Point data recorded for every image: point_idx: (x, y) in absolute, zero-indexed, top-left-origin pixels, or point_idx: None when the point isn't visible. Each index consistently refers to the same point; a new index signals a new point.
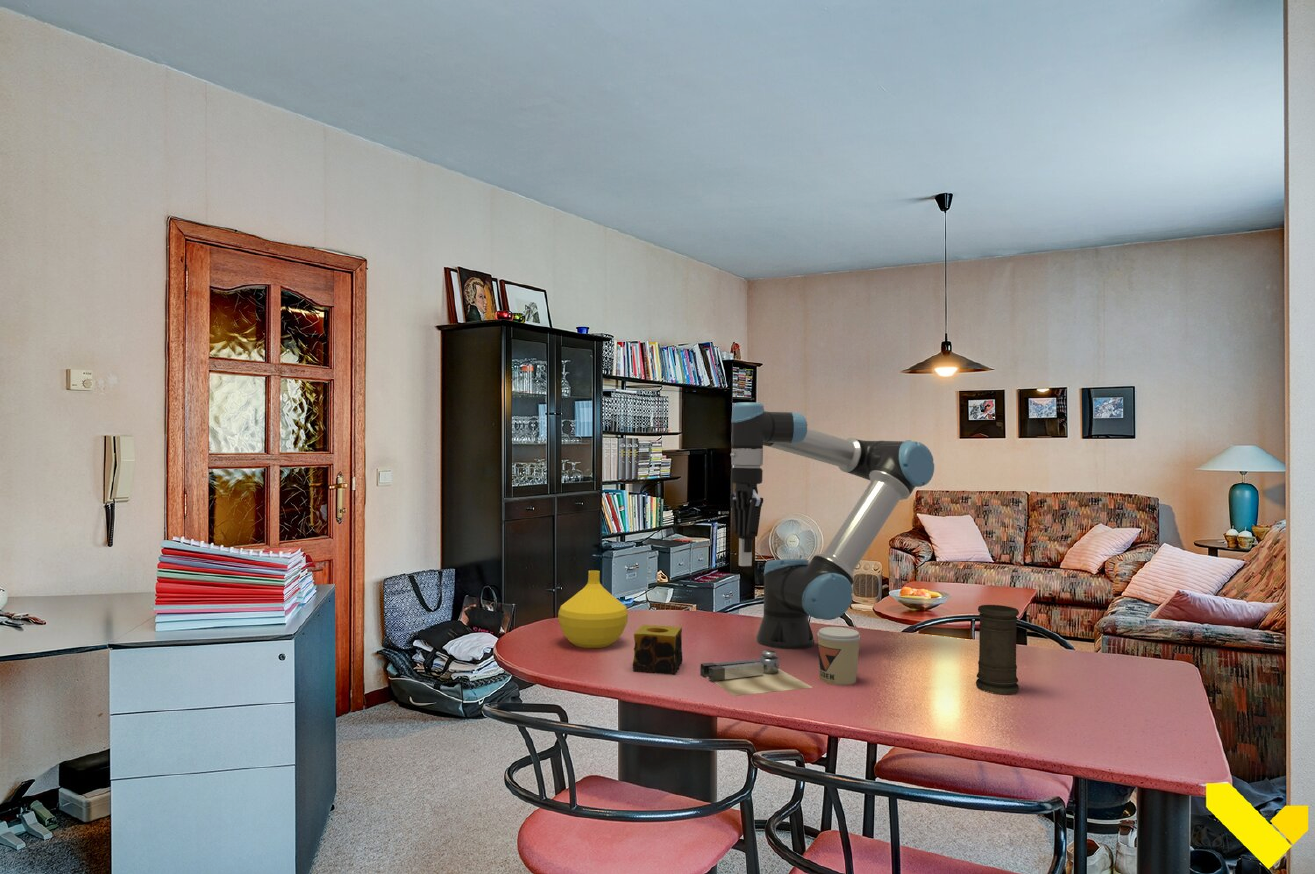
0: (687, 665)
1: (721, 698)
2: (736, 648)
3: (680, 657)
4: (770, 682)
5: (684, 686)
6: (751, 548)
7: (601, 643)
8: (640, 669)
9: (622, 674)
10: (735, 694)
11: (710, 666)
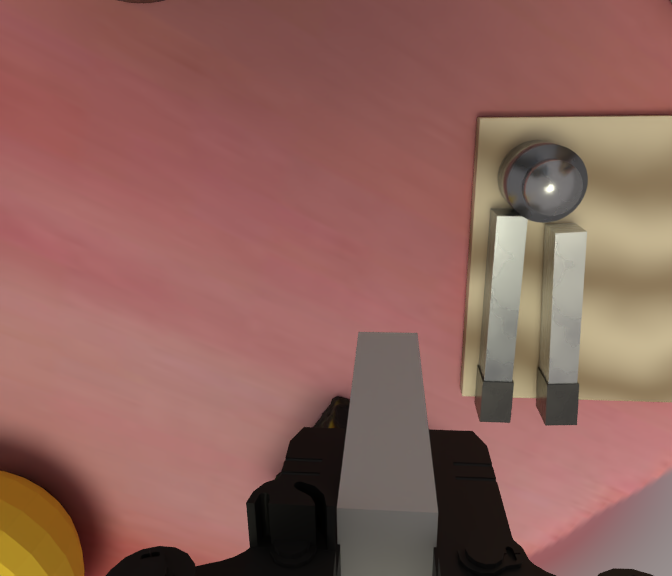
0: (309, 365)
1: (659, 412)
2: (131, 104)
3: (345, 424)
4: (649, 234)
5: (512, 456)
6: (490, 463)
7: (78, 537)
8: None
9: None
10: None
11: (510, 400)
